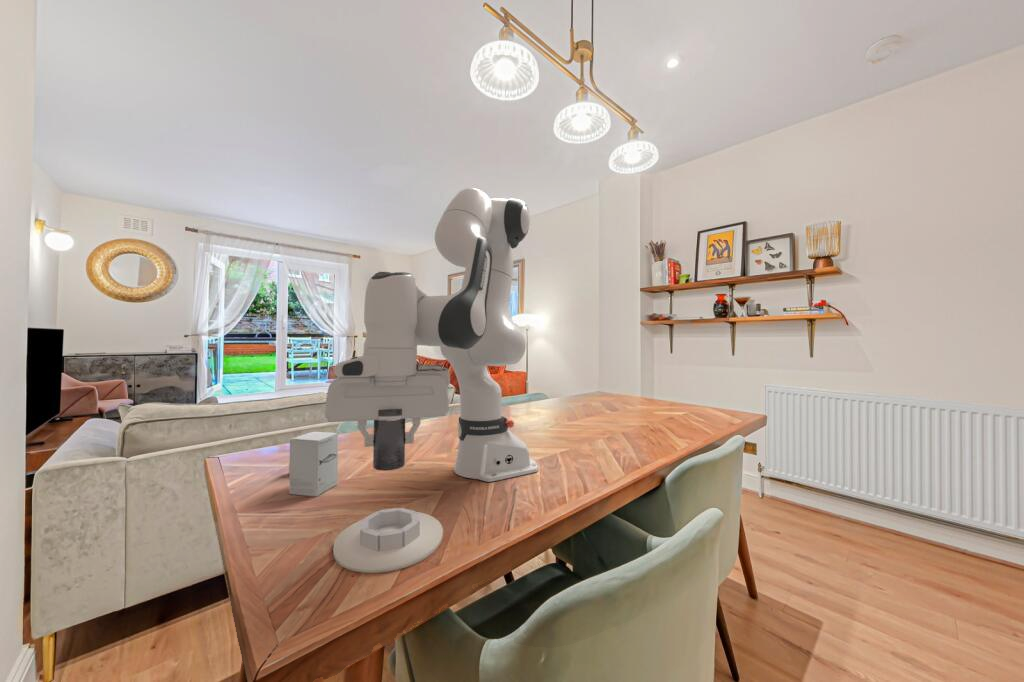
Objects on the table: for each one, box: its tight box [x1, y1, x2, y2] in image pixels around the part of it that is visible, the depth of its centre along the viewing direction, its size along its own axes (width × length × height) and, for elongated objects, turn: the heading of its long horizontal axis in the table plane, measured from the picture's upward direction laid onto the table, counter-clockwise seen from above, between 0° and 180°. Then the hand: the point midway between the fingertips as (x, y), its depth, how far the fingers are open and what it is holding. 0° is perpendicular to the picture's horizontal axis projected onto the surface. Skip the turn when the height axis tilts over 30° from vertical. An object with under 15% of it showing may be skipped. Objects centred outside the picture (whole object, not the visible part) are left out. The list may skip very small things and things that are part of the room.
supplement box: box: [289, 431, 339, 497], centre depth 87 cm, size 7×7×13 cm
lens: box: [372, 409, 406, 472], centre depth 65 cm, size 5×5×10 cm
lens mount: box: [332, 507, 444, 574], centre depth 66 cm, size 18×18×4 cm
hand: (389, 444), depth 65 cm, fingers closed on lens, 5 cm apart
